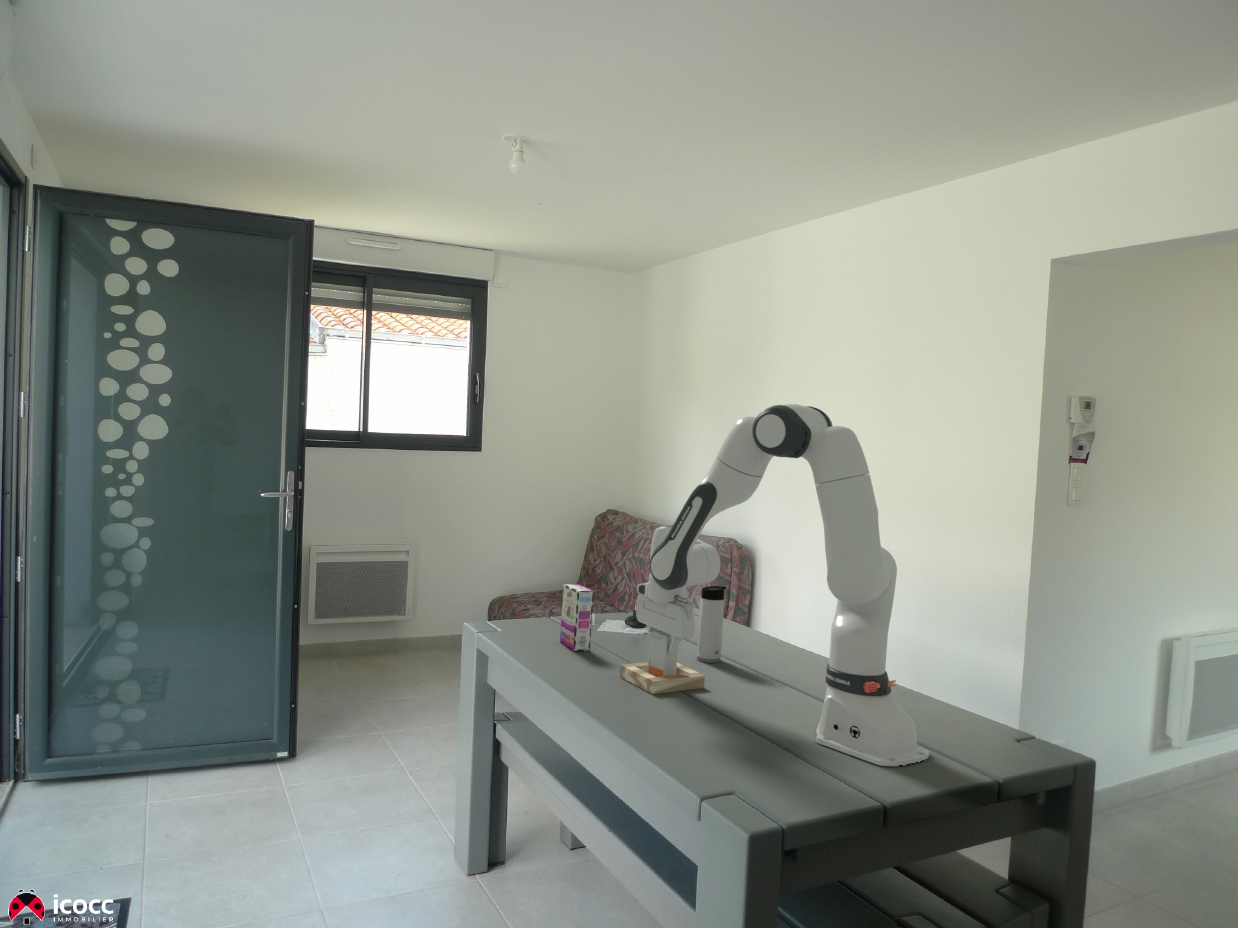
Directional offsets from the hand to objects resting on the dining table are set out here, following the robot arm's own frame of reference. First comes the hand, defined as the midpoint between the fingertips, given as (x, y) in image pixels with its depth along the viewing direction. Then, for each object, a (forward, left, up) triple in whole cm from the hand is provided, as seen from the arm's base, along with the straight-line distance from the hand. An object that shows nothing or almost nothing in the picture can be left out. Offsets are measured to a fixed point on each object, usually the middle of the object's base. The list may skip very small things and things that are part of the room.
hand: (662, 648), depth 205 cm
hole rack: (0, 0, -8) cm, 8 cm away
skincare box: (0, 0, -8) cm, 8 cm away
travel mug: (+13, -24, -8) cm, 29 cm away
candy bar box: (+37, +4, -8) cm, 38 cm away
